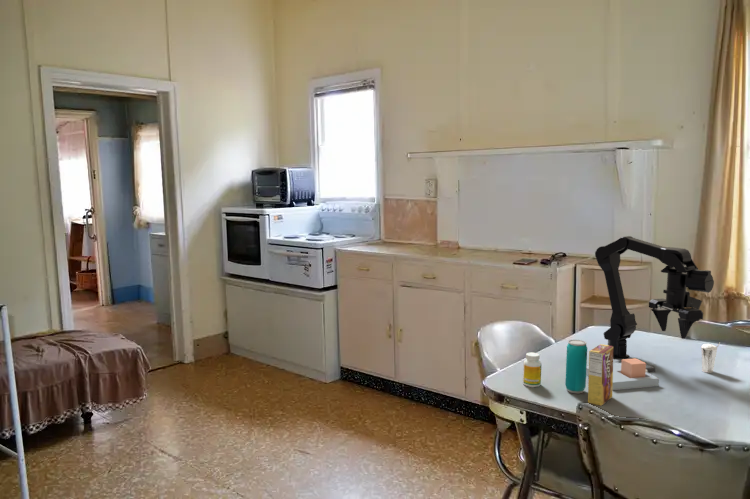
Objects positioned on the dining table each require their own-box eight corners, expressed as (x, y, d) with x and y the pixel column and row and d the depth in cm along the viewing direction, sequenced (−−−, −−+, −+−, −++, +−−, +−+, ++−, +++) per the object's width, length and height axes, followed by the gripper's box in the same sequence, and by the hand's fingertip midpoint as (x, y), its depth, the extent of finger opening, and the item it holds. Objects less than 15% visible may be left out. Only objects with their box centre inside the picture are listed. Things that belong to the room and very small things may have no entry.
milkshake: (720, 374, 196) (722, 344, 195) (702, 373, 197) (704, 343, 196) (715, 369, 200) (717, 340, 199) (697, 368, 201) (699, 339, 200)
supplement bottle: (520, 381, 190) (521, 351, 188) (538, 381, 190) (539, 351, 188) (525, 387, 184) (526, 356, 183) (542, 387, 184) (544, 356, 183)
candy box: (597, 393, 179) (600, 343, 177) (612, 397, 176) (615, 346, 174) (586, 402, 172) (588, 350, 170) (601, 406, 170) (604, 353, 168)
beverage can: (585, 388, 183) (587, 340, 181) (585, 395, 178) (587, 345, 176) (565, 386, 185) (567, 338, 183) (564, 393, 180) (566, 343, 178)
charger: (620, 377, 192) (621, 359, 191) (635, 376, 193) (636, 358, 192) (630, 383, 187) (631, 364, 186) (645, 381, 188) (646, 363, 187)
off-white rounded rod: (644, 371, 199) (644, 368, 199) (648, 372, 198) (648, 369, 198) (638, 377, 193) (638, 374, 193) (642, 377, 193) (642, 374, 193)
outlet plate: (582, 372, 197) (582, 365, 197) (626, 369, 201) (626, 362, 201) (611, 390, 182) (612, 382, 182) (658, 385, 185) (659, 378, 185)
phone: (620, 363, 207) (621, 359, 207) (635, 362, 208) (635, 358, 208) (639, 372, 198) (640, 368, 197) (654, 371, 199) (654, 367, 199)
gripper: (719, 292, 189) (716, 340, 191) (677, 281, 207) (674, 326, 209) (688, 293, 187) (685, 343, 189) (649, 282, 205) (646, 328, 207)
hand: (673, 334), depth 199 cm, fingers open, 9 cm apart
